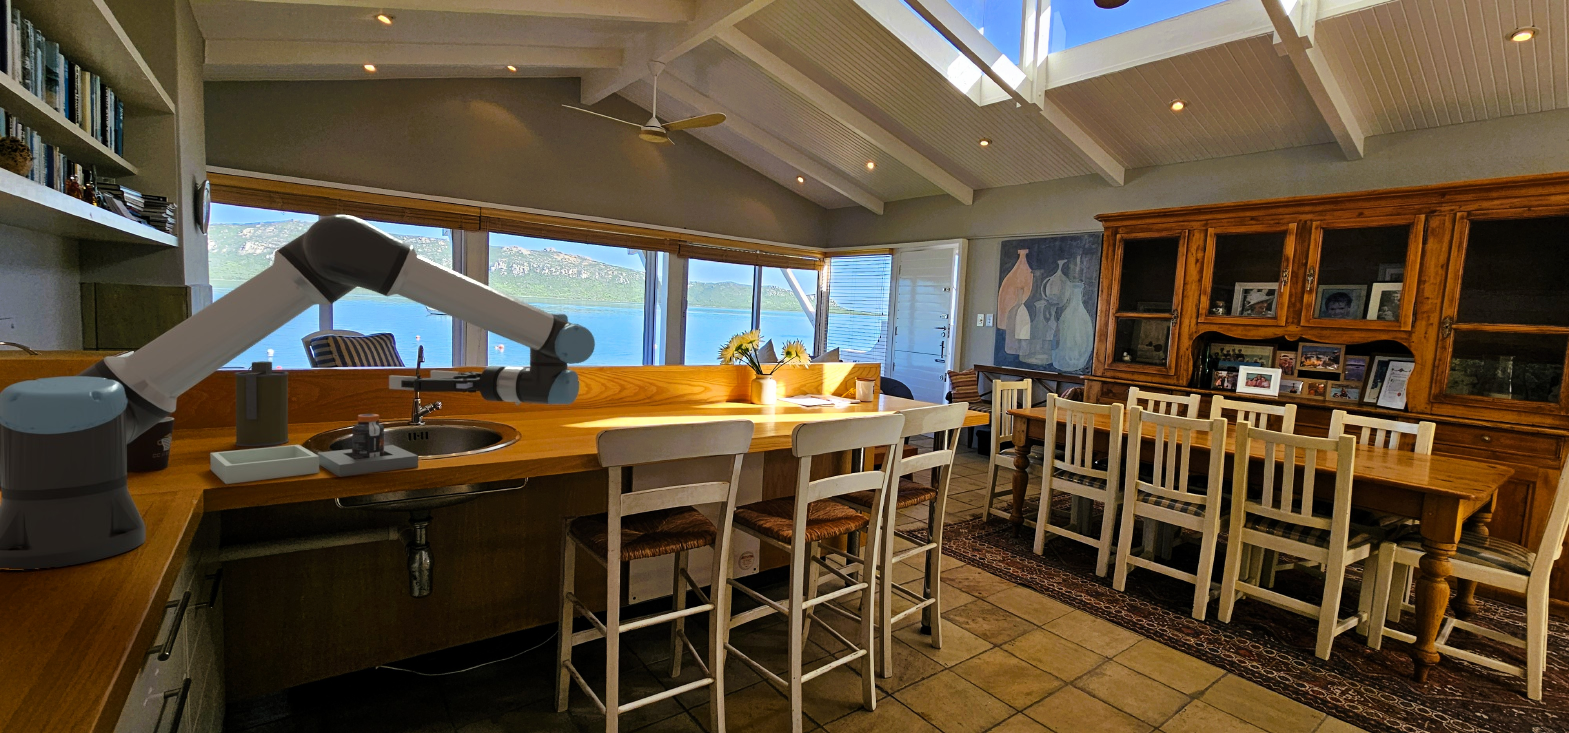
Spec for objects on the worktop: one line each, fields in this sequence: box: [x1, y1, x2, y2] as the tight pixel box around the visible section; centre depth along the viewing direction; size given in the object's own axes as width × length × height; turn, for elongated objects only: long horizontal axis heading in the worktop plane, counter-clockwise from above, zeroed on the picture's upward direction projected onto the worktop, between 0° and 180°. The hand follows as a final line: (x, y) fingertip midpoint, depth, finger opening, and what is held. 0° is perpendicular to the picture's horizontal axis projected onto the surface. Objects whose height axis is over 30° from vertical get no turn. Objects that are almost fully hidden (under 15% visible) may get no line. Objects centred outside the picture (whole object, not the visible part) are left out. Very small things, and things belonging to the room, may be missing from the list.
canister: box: [234, 360, 290, 448], centre depth 162 cm, size 11×10×20 cm
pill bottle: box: [351, 413, 385, 459], centre depth 145 cm, size 6×6×11 cm
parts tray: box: [209, 444, 320, 485], centre depth 136 cm, size 15×15×4 cm
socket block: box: [317, 444, 419, 478], centre depth 145 cm, size 15×15×2 cm
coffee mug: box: [126, 416, 175, 474], centre depth 135 cm, size 12×9×10 cm
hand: (411, 379), depth 143 cm, fingers open, 13 cm apart
